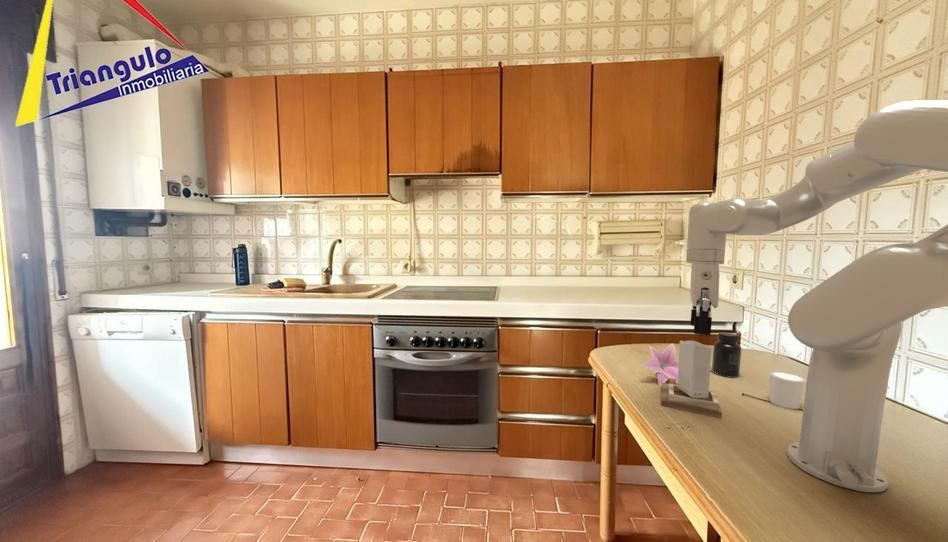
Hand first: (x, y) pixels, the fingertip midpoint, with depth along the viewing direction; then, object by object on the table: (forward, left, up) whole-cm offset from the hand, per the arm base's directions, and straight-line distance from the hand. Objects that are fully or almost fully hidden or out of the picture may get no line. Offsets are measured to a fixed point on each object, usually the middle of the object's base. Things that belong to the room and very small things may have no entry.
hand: (699, 329), depth 86 cm
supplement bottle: (+30, -10, -19) cm, 36 cm away
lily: (+13, +6, -19) cm, 24 cm away
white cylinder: (+13, -20, -19) cm, 30 cm away
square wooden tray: (+2, +1, -18) cm, 18 cm away
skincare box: (0, +1, -16) cm, 16 cm away
